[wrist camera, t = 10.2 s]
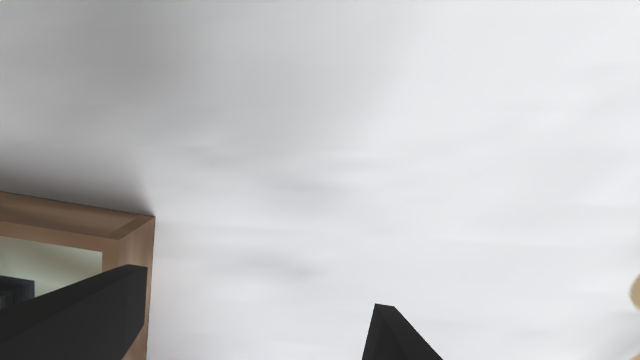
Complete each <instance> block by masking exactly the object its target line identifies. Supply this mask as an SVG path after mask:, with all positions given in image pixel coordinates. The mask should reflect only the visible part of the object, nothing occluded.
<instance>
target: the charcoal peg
mask: <svg viewBox="0 0 640 360" xmlns="http://www.w3.org/2000/svg"><path fill="white" fill-rule="evenodd" d="M34 297H35V281H34V280H27V279H21V278H15V277H8V276H2V275H0V309H3V308H5V307H8V306H11V305H14V304H17V303H20V302H23V301H26V300H29V299H32V298H34Z"/></svg>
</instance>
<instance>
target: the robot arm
mask: <svg viewBox="0 0 640 360" xmlns="http://www.w3.org/2000/svg"><path fill="white" fill-rule="evenodd" d="M147 274H148V267H144V266H138V265H132V264H126V265H123V266H119V267H116V268H113V269H111V270H108V271H105V272H102V273H100V274H97V275H94V276H92V277H89V278H86V279H84V280H81V281H78V282H76V283H73V284H70V285H68V286H65V287H62V288H60V289H57V290H54V291H52V292H49V293H46V294H43V295H40V296H37V297H34V298H32V299H29V300H26V301H23V302H20V303H17V304H14V305H11V306H8V307H5V308H3V309H0V360H122V358H123V357H124V356H125V354H126V353H127V351H128V350H129V348H130V347H131V345H132V344H133V342H134V340H135V339H136V337H137V336H138V334H139V332H140V331H141V329H142V327H143V326H144V322H145V306H146V290H147ZM362 360H443V359H442V358H441V357H440V356H439V355H438V354H437V353H436V352H435V351H434V350H433V349H432V348H431V346H430V345H429V344H428V343H427V342H426V341H425V340H424V339H423V338H422V337H421V336H420V334H419V333H418V332H417V331H416V330H415V329H414V328H413V327H412V325H411V324H410V323H409V322H408V321H407V320H406V319H405V318H404V316H403V315H402V314H401V313H400V312H399V311H398V310H397V309H396V308H395V307H394V306H388V305H381V304H375V306H374V310H373V315H372V319H371V323H370V327H369V331H368V336H367V340H366V344H365V348H364V352H363V357H362Z"/></svg>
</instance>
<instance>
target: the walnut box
mask: <svg viewBox="0 0 640 360" xmlns="http://www.w3.org/2000/svg"><path fill="white" fill-rule="evenodd" d="M154 229H155V217H152V216H146V215H140V214H134V213H128V212H122V211H115V210H109V209H103V208H97V207H91V206H85V205H79V204H73V203H67V202H61V201H55V200H49V199H43V198H37V197H31V196H25V195H19V194H13V193H7V192H1V191H0V275H2V276H8V277H15V278H21V279H27V280H34V281H35V297H37V296H40V295H43V294H46V293H49V292H52V291H54V290H57V289H60V288H62V287H65V286H68V285H70V284H73V283H76V282H78V281H81V280H84V279H86V278H89V277H92V276H94V275H97V274H100V273H102V272H105V271H108V270H111V269H113V268H116V267H119V266H123V265H126V264H132V265H138V266H144V267H148V274H147V290H146V306H145V322H144V326H143V327H142V329H141V331H140V332H139V334H138V336H137V337H136V339H135V340H134V342H133V344H132V345H131V347H130V348H129V350H128V351H127V353H126V354H125V356H124V357H123V358H122V360H146V352H147V336H148V321H149V306H150V290H151V275H152V259H153V244H154Z"/></svg>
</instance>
